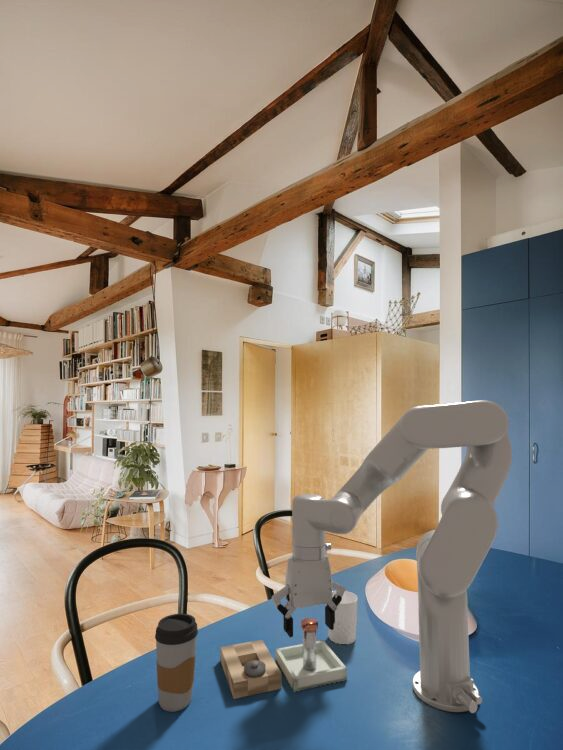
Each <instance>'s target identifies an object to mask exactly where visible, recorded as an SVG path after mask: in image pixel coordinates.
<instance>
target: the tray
mask: <svg viewBox="0 0 563 750" xmlns="http://www.w3.org/2000/svg"><path fill="white" fill-rule="evenodd" d="M316 659H317V668H316V670H314V671H306V670H304V669H303V643H299V644H295V645H290V646H285V647H279V648H275V662H276V661H277V662H276V664H277V663H278V664H277V666H278V665H279V666H280V667H279V666H278V667H279V669H280V668H281V669H280V671H281V670H282V671H281V673H282V672H283V673H284V674H283V673H282V674H283V676H284V675H285V676H284V677H286V678H285V679H286V681H287V680H288V681H287V683H288V685H289V684H290V685H289V686H290V688H291V690H292V689H293V690H292V691H294V692H293V693H296V692H295V691H298V692H300V691H299V690H302V691H306V690H305V689H307V690H309V688H311V689H315V688H319V687H318V686H320V687H323V686H322V685H324V686H327V685H326V684H329V685H332V684H331V683H333V684H336V682H338V683H340V682H339V681H342V682H346V681H345V680H347V681H348V670H347V669H348V668H347V667H346V665H345V664H344V663H343V661H341V659H340V658H339V656H338V655H336V653H335V652H334V650H332V648H331V647H330V646H329V645H328V643H326V642H325V640H322V639H321V640H316ZM314 687H315V688H314Z"/></svg>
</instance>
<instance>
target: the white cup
mask: <svg viewBox="0 0 563 750" xmlns="http://www.w3.org/2000/svg"><path fill="white" fill-rule="evenodd" d="M336 591H337V590H333V596H334V595H335V594H336ZM333 596H332V598H333ZM357 624H358V595H357V594H355V593H353V592H351V591H347V590H345V592H344V594H343V596H342V600H341V602H340V603H339V604H338V606H337V610H336V611H335V623H334V630H331V629H329V628H327V629H328V638H329V640H330V641H331V642H332V641H333V642H332V643H334V642H335V643H334V644H337V643H338V645H341V644H347V645H351V644H353V643H354V642H356V639H357V638H356V637H357V635H356V634H357Z"/></svg>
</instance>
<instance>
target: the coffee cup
mask: <svg viewBox="0 0 563 750" xmlns="http://www.w3.org/2000/svg"><path fill="white" fill-rule="evenodd" d="M198 634H199V631H198V623H197V622H196V618H195V617H194V616H193V615H192V614H188V613H173V614H169V615H166V616H164V617H162V618H161V619H160V620H158V623H157V626H156V628H155V634H154V638H155V645H156V677H157V679H156V680H157V681H156V683H157V689H158V690H157V692H158V704H159V706H160V708H161V709H162V710H164V711H166V712H178V711H181V710H184V709H185V708H187V707H189V704H190V703H191V701H192V698H193V692H194V691H193V690H194V680H195V670H196V669H195V667H196V651H197V648H196V647H197V637H198Z"/></svg>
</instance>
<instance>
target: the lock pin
mask: <svg viewBox="0 0 563 750" xmlns="http://www.w3.org/2000/svg"><path fill="white" fill-rule="evenodd" d="M300 628H301V630H302V644H303V669H304V670H306V671H314V670H316V668H317V659H316V641H317V630H318V629H319V621H318V620H317V619H316V618H312V617H311V618H310V617H307V618H303V619H301V621H300Z"/></svg>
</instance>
